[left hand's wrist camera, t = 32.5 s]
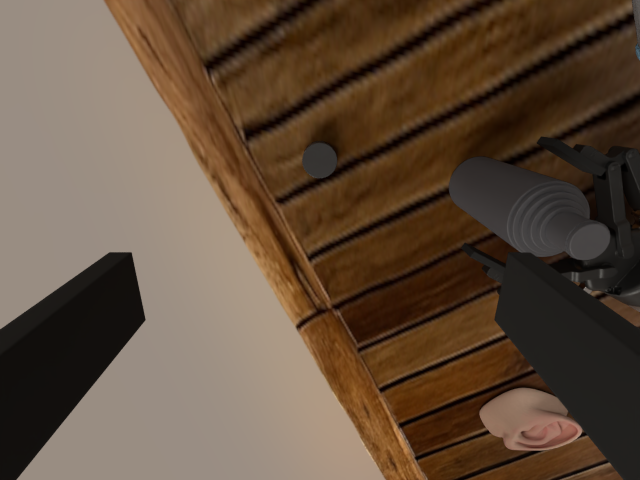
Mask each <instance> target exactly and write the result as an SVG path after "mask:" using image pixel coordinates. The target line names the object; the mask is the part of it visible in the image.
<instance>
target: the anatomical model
mask: <svg viewBox="0 0 640 480" xmlns="http://www.w3.org/2000/svg"><path fill="white" fill-rule="evenodd" d="M567 413H568V410H567V409H566V408H565V407H564V405H563V404H562V403H561V402H560V400H559V399H558V398H557V397H555V396H553V395H550V394H548V393H545V392H542V391H539V390H535V389H531V388H517V389H513V390H510V391H507V392H505V393H503V394H501V395H499V396H497V397H496V398H494V399H492V400H491V401H489V402H488V403H487V404H485V405H484V406H483V407H482V408H481V410H480V417H481V420H482V421H483V423H484V425H485V426H486V428H487V429H488V430H489V431H490V432H491V433H492V434H493V435H495V436H497V437H503V439H504V443H505V445H506V447H507V448H509V449H512V450H548V449H553V448H556V447H560V446H563V445H565V444H568V443H570V442H572V441H573V440H575V439H576V438H578V437H579V436H580V434H581V433H582V428H581V426H580V425H579V424H578V423H577V422H576V421H574V420H573V419H571V418H569V417H566V416H567Z"/></svg>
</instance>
